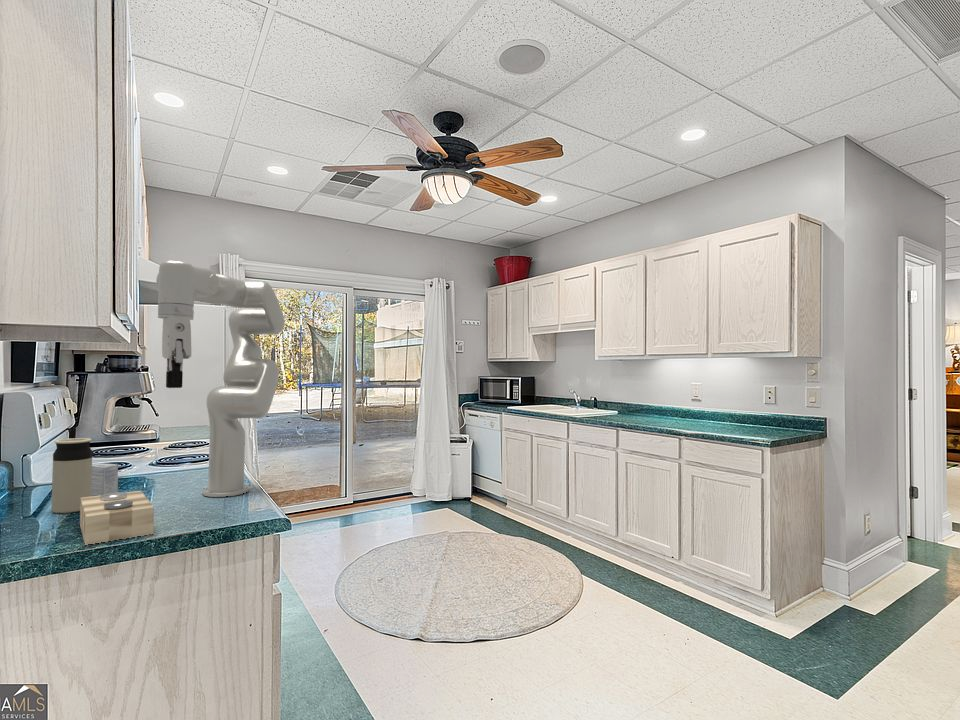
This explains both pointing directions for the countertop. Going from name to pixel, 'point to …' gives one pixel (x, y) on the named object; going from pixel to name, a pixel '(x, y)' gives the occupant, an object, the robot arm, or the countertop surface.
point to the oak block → (115, 519)
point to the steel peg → (113, 496)
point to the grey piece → (118, 505)
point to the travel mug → (71, 474)
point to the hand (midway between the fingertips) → (174, 387)
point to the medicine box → (104, 479)
